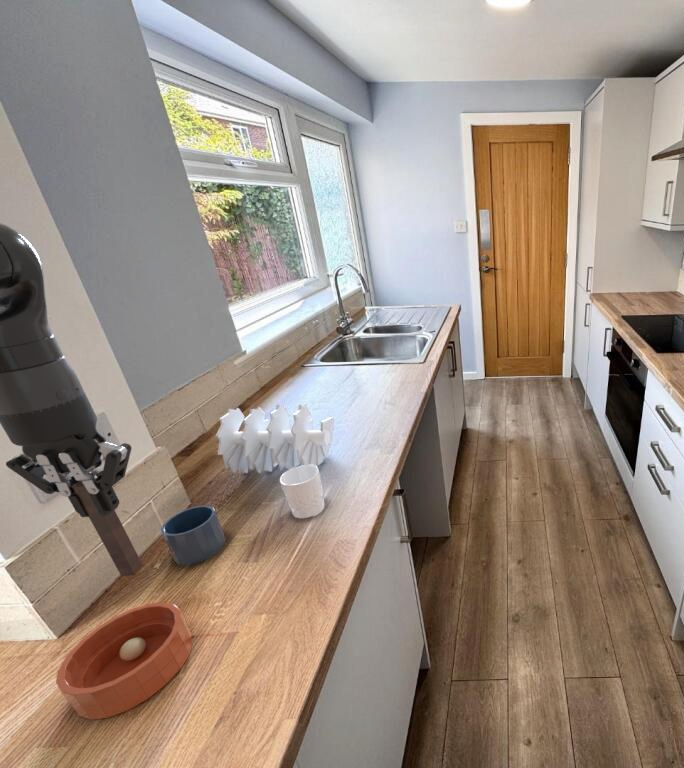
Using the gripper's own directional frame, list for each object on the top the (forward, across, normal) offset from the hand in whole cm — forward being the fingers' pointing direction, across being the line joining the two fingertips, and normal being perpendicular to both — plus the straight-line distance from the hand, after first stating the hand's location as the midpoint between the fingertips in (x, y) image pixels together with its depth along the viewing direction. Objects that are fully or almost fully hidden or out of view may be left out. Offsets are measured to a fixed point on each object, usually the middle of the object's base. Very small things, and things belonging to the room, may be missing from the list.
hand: (100, 511), depth 56 cm
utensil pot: (+26, +6, -20) cm, 33 cm away
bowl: (+26, +1, +5) cm, 26 cm away
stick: (+11, 0, 0) cm, 11 cm away
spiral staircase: (+26, +1, -50) cm, 56 cm away
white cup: (+26, -12, -30) cm, 41 cm away
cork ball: (+24, +3, +3) cm, 24 cm away
